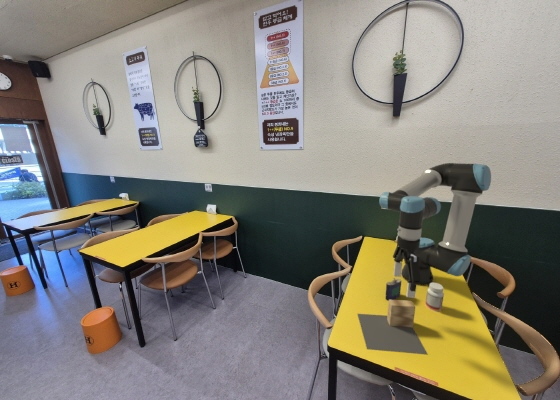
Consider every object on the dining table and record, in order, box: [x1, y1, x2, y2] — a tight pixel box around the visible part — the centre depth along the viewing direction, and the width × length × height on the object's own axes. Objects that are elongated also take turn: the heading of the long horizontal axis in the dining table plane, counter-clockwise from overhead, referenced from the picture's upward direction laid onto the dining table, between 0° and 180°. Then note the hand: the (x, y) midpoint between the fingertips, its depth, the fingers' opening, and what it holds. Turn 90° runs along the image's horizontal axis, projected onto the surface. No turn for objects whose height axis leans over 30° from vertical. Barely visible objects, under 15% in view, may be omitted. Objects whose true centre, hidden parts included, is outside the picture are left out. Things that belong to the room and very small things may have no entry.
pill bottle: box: [425, 282, 445, 312], centre depth 101 cm, size 6×6×11 cm
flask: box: [385, 277, 402, 302], centre depth 108 cm, size 9×3×11 cm, turn 114°
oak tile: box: [386, 299, 416, 328], centre depth 92 cm, size 9×4×10 cm, turn 82°
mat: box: [357, 313, 428, 355], centre depth 89 cm, size 21×18×1 cm
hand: (403, 285), depth 89 cm, fingers open, 13 cm apart
